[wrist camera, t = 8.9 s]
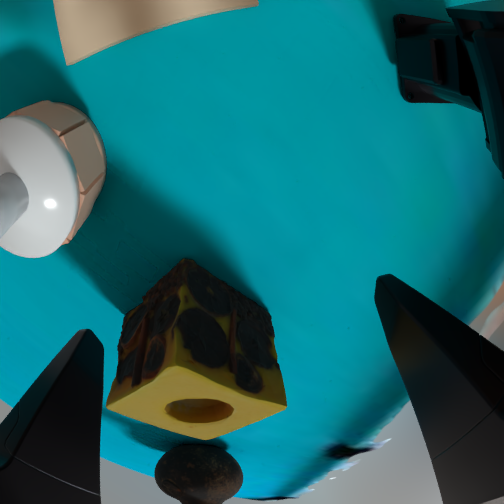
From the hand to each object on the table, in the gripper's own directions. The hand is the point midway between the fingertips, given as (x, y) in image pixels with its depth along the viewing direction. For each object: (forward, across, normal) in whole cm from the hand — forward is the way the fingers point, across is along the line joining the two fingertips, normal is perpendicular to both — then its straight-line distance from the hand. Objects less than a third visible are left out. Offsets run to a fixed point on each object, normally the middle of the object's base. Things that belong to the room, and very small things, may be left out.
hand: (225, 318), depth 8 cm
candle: (+13, +6, +13) cm, 20 cm away
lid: (+8, +12, -4) cm, 15 cm away
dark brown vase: (+13, +20, +54) cm, 59 cm away
